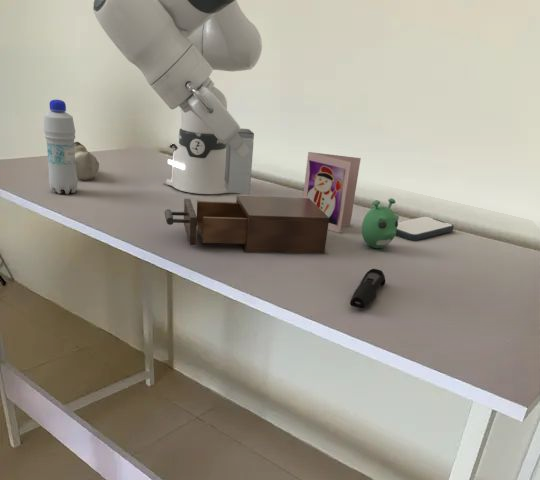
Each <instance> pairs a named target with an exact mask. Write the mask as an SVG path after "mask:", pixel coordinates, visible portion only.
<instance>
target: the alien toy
mask: <svg viewBox="0 0 540 480" xmlns="http://www.w3.org/2000/svg"><path fill="white" fill-rule="evenodd" d="M387 201H388V203H389V204H388V206H385V205H380V204H381V201H380V200H377V199H374V201H372V203H371V204H372V206H374V207H372V208H371V209H369V210H368V211H367V213H366V214H365V215H364V217H363V220H362V223H361V232H362V233H361V234H362V238H363V241H364V242H365V243H366V244H367V245H368V246H370V247H371V248H374V249H383V248H385V247H387V246H389V244H390V243H391V242H392V241H393V239H394V238H395V237H397V235H396V230H397V226H398V222H399V218H400V215H397V214H396V213H395V212H394V211H393V209H391V207H392V205H393V204H396V200H395V199H394V198H391V197H390V198H388V199H387Z"/></svg>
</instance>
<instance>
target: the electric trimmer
mask: <svg viewBox="0 0 540 480" xmlns="http://www.w3.org/2000/svg"><path fill="white" fill-rule="evenodd" d="M385 284H386V276H385V274H384V272H383V271H382V270H381V269H377V268H371V269H369V270H368V271H367V272H366V273H365V274H364V275H363V277H362V279H361V281H360V283H359V285H358V287H357V288H356V289H355V290H354V293H353V295H352V296H351V298H350V302H349V305H350V307H355V308H359V309H365V308H366V307H368V306H369V305H370V304H371V303H372V302H373V301H374V300H376V298H377V293H378V289H379V287H380V286H384V285H385Z"/></svg>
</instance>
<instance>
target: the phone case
mask: <svg viewBox="0 0 540 480" xmlns="http://www.w3.org/2000/svg"><path fill="white" fill-rule="evenodd" d="M454 228H455V226H454V224H452V223H449V222H447V221H443V220H440V219H437V218H434V217H430V216H421V217H420V216H419V217H415V218H411V219H407V220H402V221H398V226H397V230H396V236H397V237H400V238H403V239H406V240H409V241H419V240H422V239H426V238H431V237H434V236H438V235H442V234H446V233H451V232H453V231H454Z"/></svg>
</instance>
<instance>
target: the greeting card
mask: <svg viewBox="0 0 540 480" xmlns="http://www.w3.org/2000/svg"><path fill="white" fill-rule="evenodd" d="M361 160H362V158H361V157H354V156H347V155H337V154H328V153H320V152H314V151H313V152H312V151H308V152H307V160H306V169H305V178H304V186H303V192H302V193H303V194H302V198H309V199H310V200H311V201H312V202H313V203H315V204H316V205H317V206H318V207H319V208H320V209H321V210H322V211H323V212H324V213H325V214H326V215H327V216H328V217H329V224H328V230H329V231H333V232H335V233H339V234H341V232H342V231H341V230H342V226H344V227H351V223H352V216H353V210H354V204H355V198H356V190H357V184H358V179H359V172H360V165H361Z"/></svg>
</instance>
